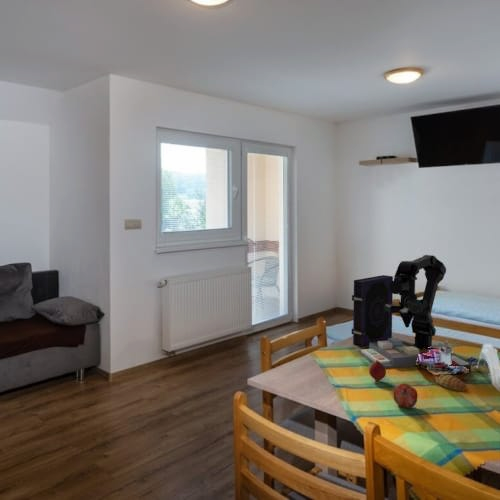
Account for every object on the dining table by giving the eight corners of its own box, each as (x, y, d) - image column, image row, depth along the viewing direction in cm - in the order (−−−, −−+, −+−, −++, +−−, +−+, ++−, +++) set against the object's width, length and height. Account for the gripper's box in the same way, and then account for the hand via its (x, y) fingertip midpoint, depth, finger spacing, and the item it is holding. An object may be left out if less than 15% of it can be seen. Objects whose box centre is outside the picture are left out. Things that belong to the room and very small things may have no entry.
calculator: (419, 357, 184) (454, 353, 186) (419, 368, 185) (454, 364, 186) (434, 367, 173) (471, 362, 175) (434, 378, 174) (471, 373, 176)
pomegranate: (393, 407, 152) (386, 397, 145) (400, 386, 155) (394, 376, 148) (416, 415, 148) (410, 406, 141) (422, 393, 150) (417, 383, 143)
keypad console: (397, 349, 205) (397, 340, 205) (424, 365, 185) (424, 355, 185) (357, 352, 202) (357, 343, 201) (380, 368, 181) (380, 359, 181)
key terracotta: (394, 356, 193) (394, 349, 192) (400, 359, 188) (400, 352, 188) (384, 357, 192) (385, 350, 191) (390, 360, 187) (390, 353, 187)
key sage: (404, 353, 197) (404, 346, 197) (410, 356, 193) (410, 349, 192) (395, 353, 196) (395, 346, 196) (400, 357, 192) (400, 350, 192)
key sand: (412, 353, 190) (413, 346, 190) (418, 356, 186) (419, 349, 186) (403, 354, 190) (403, 346, 189) (408, 357, 185) (409, 350, 185)
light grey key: (387, 347, 199) (387, 340, 198) (392, 350, 194) (392, 343, 194) (377, 348, 198) (377, 341, 198) (382, 351, 193) (382, 344, 193)
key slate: (397, 344, 203) (397, 337, 203) (402, 347, 199) (402, 340, 198) (387, 345, 202) (388, 338, 202) (392, 348, 198) (393, 341, 198)
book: (381, 334, 229) (382, 274, 226) (392, 337, 224) (393, 276, 221) (351, 344, 214) (352, 280, 211) (362, 347, 209) (363, 281, 206)
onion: (386, 379, 170) (387, 358, 169) (384, 385, 165) (384, 363, 164) (370, 377, 172) (371, 356, 172) (367, 382, 167) (368, 361, 166)
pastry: (470, 389, 161) (471, 378, 161) (460, 394, 157) (460, 383, 157) (445, 381, 169) (446, 371, 168) (435, 385, 165) (435, 375, 164)
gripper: (397, 295, 186) (396, 333, 187) (439, 293, 189) (438, 330, 191) (383, 290, 197) (383, 326, 198) (423, 288, 200) (422, 324, 202)
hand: (407, 327), depth 197 cm, fingers closed
